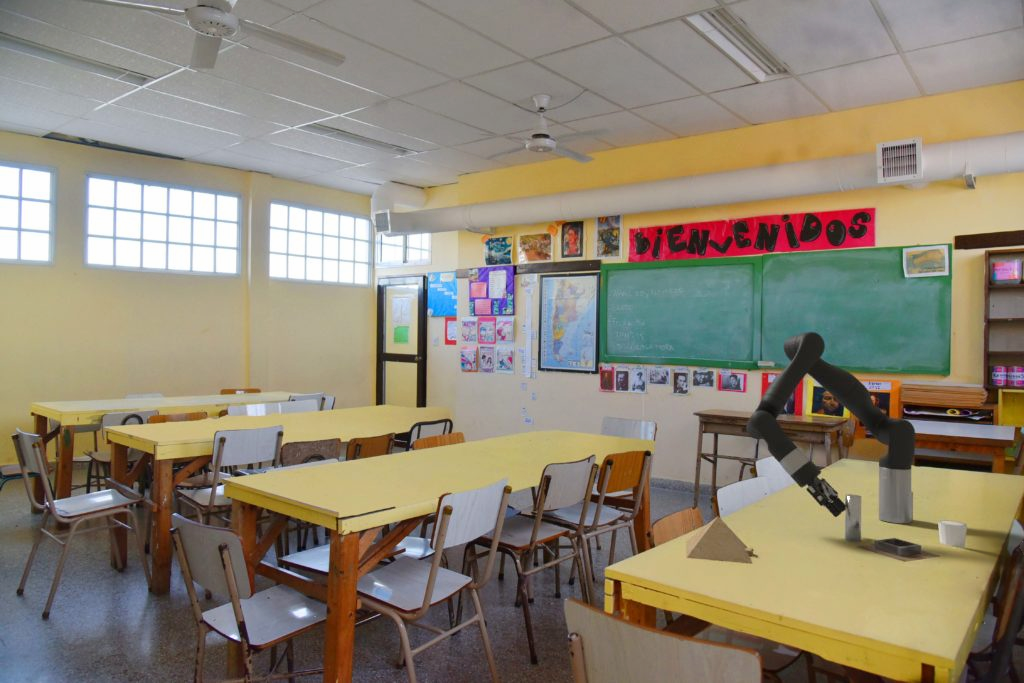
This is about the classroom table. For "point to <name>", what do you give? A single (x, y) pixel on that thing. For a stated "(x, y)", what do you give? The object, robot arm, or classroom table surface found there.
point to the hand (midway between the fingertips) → (842, 512)
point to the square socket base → (898, 549)
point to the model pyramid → (718, 544)
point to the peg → (853, 518)
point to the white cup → (952, 533)
